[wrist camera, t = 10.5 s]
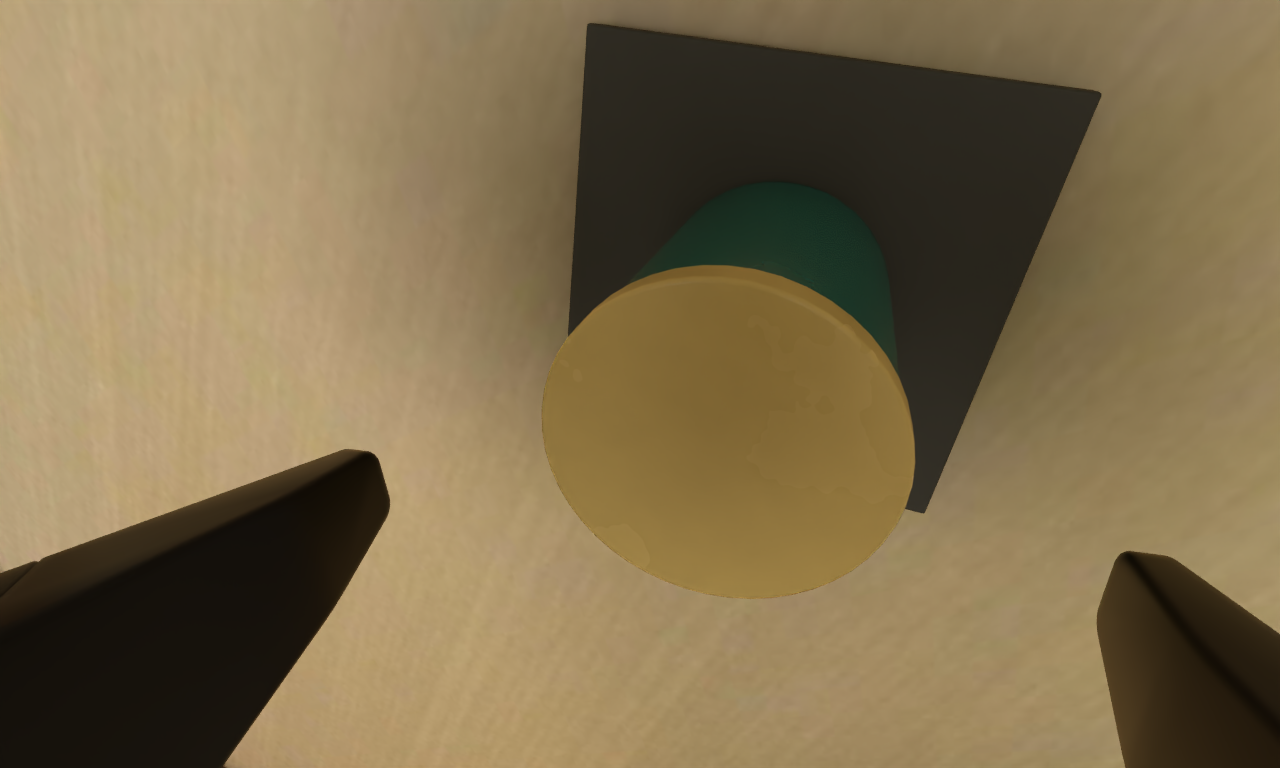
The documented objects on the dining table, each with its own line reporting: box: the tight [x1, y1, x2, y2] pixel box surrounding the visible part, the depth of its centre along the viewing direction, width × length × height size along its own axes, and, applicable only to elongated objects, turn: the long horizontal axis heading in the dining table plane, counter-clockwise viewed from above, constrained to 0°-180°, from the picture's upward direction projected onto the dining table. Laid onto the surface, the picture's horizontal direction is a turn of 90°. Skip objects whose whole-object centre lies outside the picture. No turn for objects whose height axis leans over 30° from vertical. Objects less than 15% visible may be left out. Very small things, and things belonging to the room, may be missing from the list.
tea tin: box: [542, 181, 915, 599], centre depth 12 cm, size 5×5×7 cm
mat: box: [568, 23, 1101, 513], centre depth 16 cm, size 10×10×1 cm
